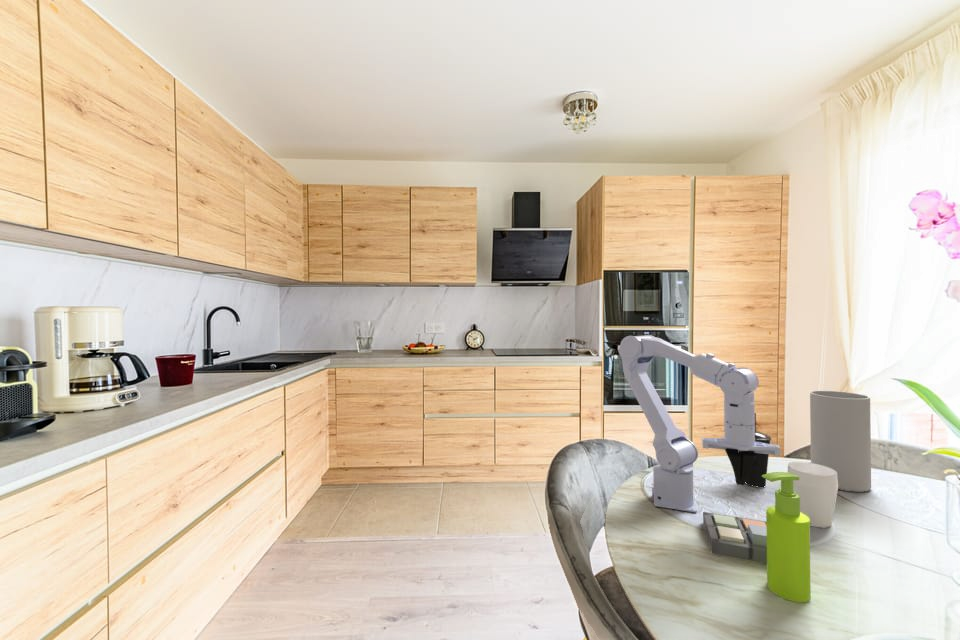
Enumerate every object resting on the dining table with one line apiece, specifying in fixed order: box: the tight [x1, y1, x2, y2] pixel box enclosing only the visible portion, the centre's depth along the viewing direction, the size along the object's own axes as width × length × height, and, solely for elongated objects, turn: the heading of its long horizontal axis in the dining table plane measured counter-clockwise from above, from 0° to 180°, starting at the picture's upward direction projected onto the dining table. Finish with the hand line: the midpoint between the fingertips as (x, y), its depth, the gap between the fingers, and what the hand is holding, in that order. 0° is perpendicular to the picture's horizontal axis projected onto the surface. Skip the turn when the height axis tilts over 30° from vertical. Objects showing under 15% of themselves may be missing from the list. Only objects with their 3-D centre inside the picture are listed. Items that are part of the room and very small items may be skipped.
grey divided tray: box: [702, 511, 767, 565], centre depth 82 cm, size 13×13×2 cm
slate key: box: [748, 524, 767, 547], centre depth 79 cm, size 4×4×2 cm
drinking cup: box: [745, 412, 772, 488], centre depth 112 cm, size 8×8×20 cm
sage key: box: [713, 513, 738, 529], centre depth 86 cm, size 4×4×2 cm
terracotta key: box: [741, 517, 767, 531], centre depth 84 cm, size 4×4×2 cm
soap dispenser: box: [762, 471, 812, 603], centre depth 68 cm, size 6×7×20 cm
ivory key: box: [717, 526, 744, 543], centre depth 81 cm, size 4×4×2 cm
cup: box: [787, 461, 838, 528], centre depth 91 cm, size 9×9×12 cm
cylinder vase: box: [809, 390, 872, 493], centre depth 111 cm, size 12×12×25 cm
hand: (739, 483), depth 89 cm, fingers closed
